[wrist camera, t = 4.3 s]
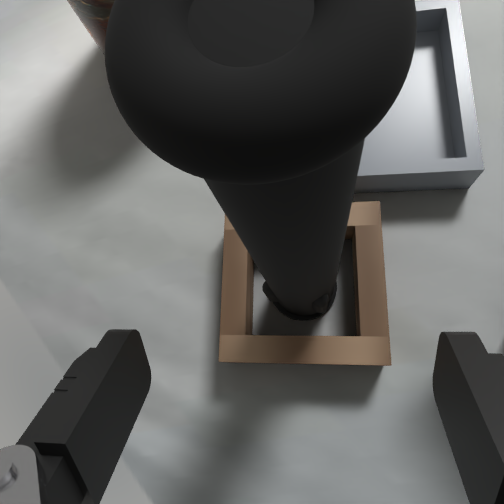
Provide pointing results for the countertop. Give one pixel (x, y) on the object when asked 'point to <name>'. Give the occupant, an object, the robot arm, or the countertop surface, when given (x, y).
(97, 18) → the jar
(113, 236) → the countertop surface
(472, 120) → the tray
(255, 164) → the tube
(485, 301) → the countertop surface
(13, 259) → the countertop surface
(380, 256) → the collar
